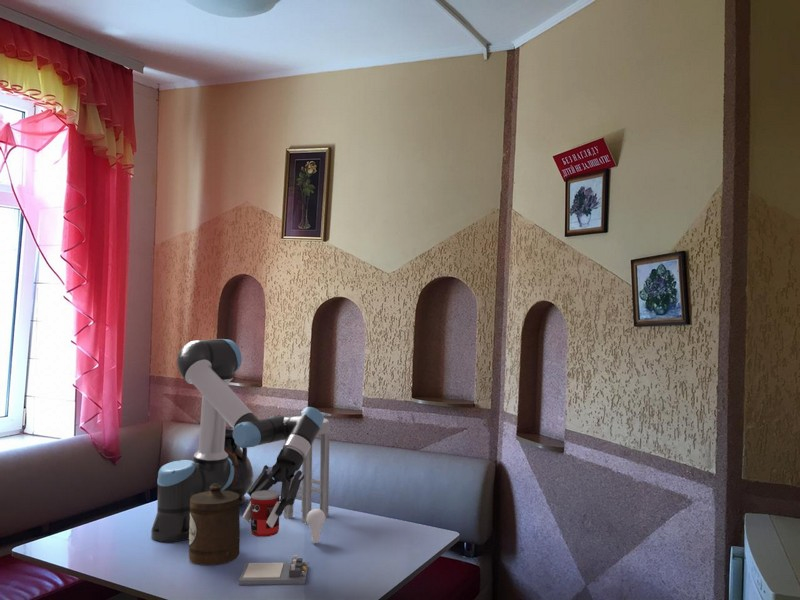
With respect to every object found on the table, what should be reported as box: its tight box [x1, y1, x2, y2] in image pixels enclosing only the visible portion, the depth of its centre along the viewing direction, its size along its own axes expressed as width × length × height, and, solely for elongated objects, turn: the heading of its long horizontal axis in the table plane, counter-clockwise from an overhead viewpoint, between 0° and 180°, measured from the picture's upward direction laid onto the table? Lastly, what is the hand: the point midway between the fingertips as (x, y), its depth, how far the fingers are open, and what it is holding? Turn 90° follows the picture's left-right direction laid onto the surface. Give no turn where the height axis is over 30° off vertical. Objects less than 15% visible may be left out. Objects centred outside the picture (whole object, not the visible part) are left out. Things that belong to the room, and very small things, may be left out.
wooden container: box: [188, 483, 241, 566], centre depth 200 cm, size 15×15×22 cm
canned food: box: [250, 489, 281, 538], centre depth 186 cm, size 8×8×11 cm
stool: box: [283, 417, 331, 525], centre depth 239 cm, size 16×16×35 cm
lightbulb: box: [306, 508, 326, 544], centre depth 212 cm, size 6×6×11 cm
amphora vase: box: [221, 428, 254, 508], centre depth 252 cm, size 22×22×28 cm
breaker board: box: [238, 554, 309, 586], centre depth 186 cm, size 18×12×4 cm, turn 94°
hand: (257, 522), depth 183 cm, fingers closed on canned food, 8 cm apart
